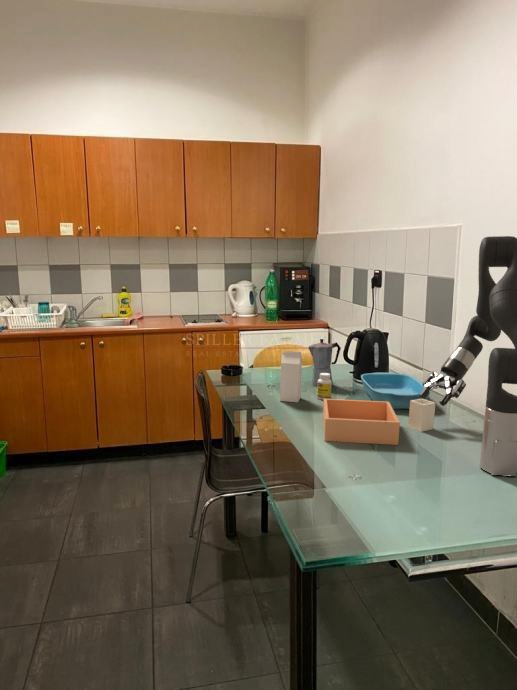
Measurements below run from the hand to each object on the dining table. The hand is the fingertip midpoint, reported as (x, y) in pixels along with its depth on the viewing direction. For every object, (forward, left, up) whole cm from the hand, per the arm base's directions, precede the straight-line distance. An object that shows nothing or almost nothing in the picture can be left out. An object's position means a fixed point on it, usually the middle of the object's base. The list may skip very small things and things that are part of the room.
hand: (431, 401), depth 177 cm
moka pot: (+49, +34, -9) cm, 60 cm away
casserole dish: (+32, +7, -9) cm, 34 cm away
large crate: (-8, +24, -9) cm, 27 cm away
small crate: (-2, +3, -9) cm, 10 cm away
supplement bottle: (+28, +34, -9) cm, 45 cm away
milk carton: (+24, +47, -9) cm, 54 cm away
